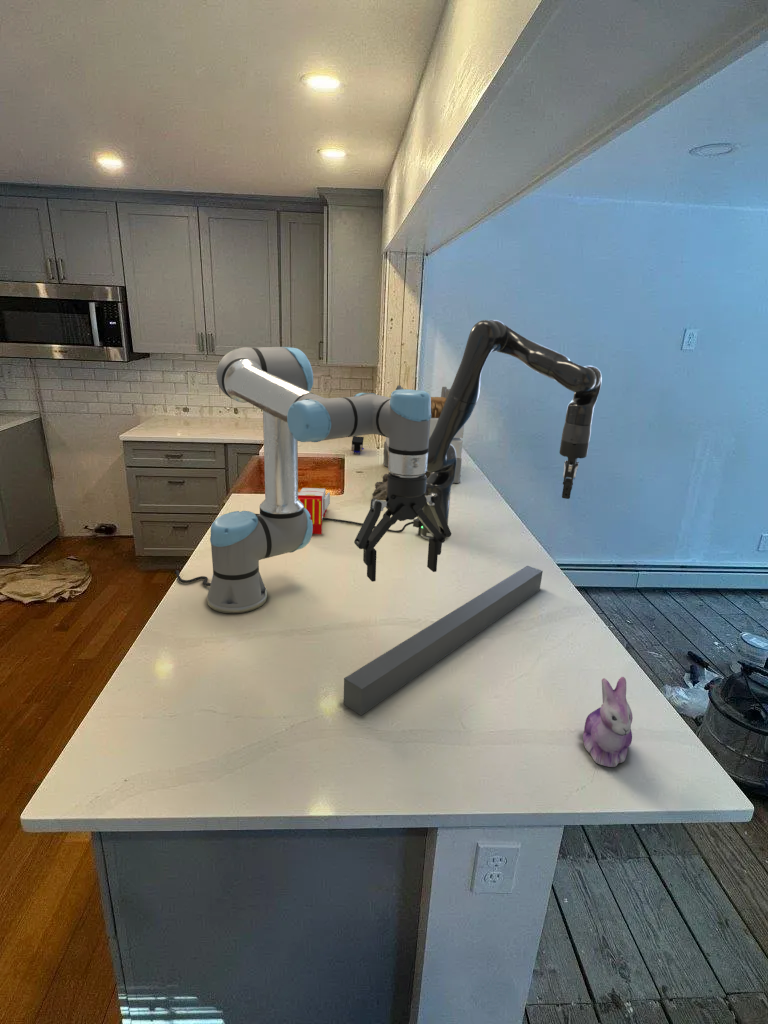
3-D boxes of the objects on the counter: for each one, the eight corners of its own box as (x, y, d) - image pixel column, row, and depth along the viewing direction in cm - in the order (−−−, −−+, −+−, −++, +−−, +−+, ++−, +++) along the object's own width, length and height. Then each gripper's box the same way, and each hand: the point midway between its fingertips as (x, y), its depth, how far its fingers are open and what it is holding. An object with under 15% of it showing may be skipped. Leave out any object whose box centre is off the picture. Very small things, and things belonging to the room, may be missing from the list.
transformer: (382, 463, 289) (386, 382, 275) (445, 464, 293) (451, 384, 279) (390, 482, 257) (394, 392, 243) (460, 483, 261) (468, 394, 247)
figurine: (610, 778, 98) (627, 706, 93) (567, 739, 106) (580, 672, 101) (647, 760, 102) (665, 691, 97) (603, 725, 110) (617, 659, 105)
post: (524, 584, 167) (527, 565, 165) (539, 590, 164) (542, 570, 162) (343, 704, 113) (344, 678, 111) (361, 715, 110) (362, 689, 108)
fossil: (371, 479, 247) (398, 460, 242) (384, 495, 250) (412, 477, 245) (364, 500, 227) (394, 480, 222) (379, 517, 230) (409, 498, 225)
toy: (331, 483, 220) (325, 497, 191) (330, 517, 223) (325, 535, 194) (299, 482, 220) (289, 496, 190) (299, 516, 223) (289, 534, 193)
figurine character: (363, 457, 303) (363, 448, 316) (363, 444, 300) (364, 435, 313) (350, 457, 303) (351, 447, 316) (351, 444, 299) (352, 434, 313)
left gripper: (352, 483, 100) (350, 591, 107) (473, 473, 110) (464, 572, 117) (338, 472, 107) (337, 574, 114) (454, 463, 116) (446, 558, 123)
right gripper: (563, 433, 167) (555, 485, 172) (559, 442, 154) (551, 499, 159) (590, 436, 164) (581, 489, 170) (588, 445, 152) (578, 503, 157)
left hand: (402, 574), depth 115 cm, fingers open, 13 cm apart
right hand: (566, 494), depth 165 cm, fingers open, 8 cm apart
